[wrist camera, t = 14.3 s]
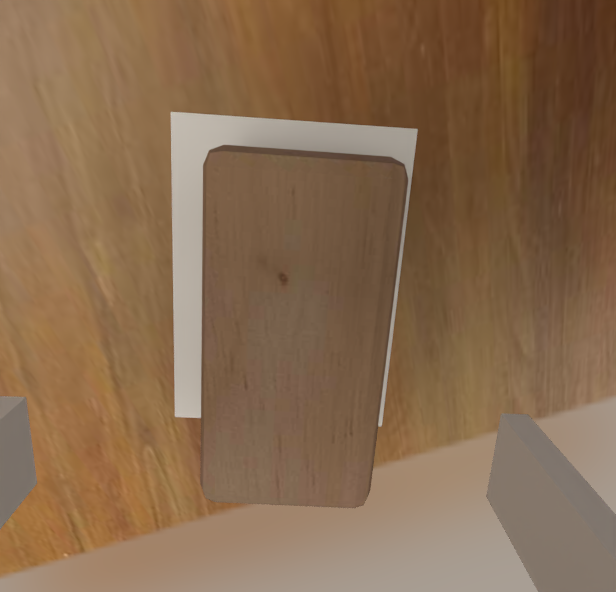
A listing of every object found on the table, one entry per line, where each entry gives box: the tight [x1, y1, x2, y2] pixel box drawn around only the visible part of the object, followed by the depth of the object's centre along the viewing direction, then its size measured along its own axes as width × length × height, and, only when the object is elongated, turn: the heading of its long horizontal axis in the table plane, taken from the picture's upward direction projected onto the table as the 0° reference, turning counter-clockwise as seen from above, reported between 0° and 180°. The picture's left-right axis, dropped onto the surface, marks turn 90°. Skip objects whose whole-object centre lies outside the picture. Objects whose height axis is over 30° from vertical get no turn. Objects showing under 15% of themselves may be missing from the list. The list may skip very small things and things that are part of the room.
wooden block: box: [200, 145, 408, 508], centre depth 30 cm, size 10×10×20 cm
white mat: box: [171, 112, 418, 426], centre depth 35 cm, size 16×22×1 cm
